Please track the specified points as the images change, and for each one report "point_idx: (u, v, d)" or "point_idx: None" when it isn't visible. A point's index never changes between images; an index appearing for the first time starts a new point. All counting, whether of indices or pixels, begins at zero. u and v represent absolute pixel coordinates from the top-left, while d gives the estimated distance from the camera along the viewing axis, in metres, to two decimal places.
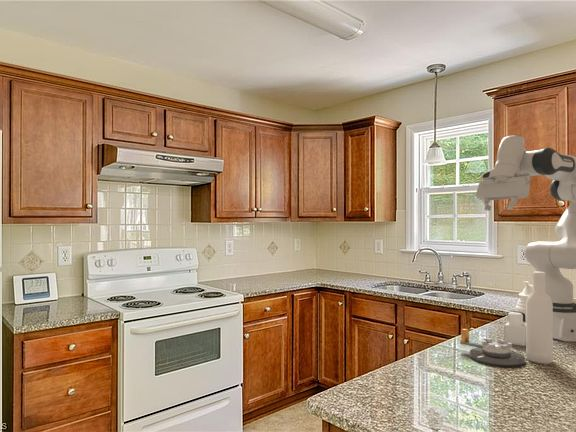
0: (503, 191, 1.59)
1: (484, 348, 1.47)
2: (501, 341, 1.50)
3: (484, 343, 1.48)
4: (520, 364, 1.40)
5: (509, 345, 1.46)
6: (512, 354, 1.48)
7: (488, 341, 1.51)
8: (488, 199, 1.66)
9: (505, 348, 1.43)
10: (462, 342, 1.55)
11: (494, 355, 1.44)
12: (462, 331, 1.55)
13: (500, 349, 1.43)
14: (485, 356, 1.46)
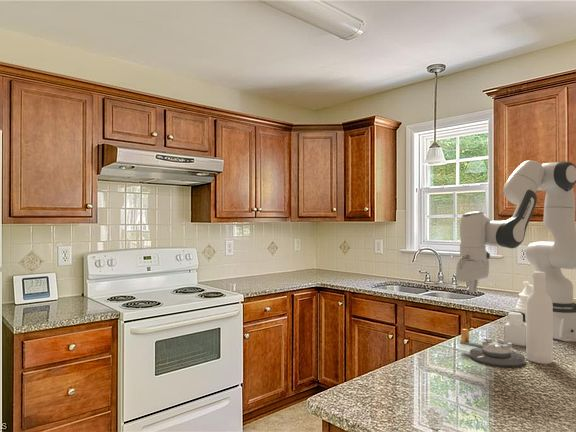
0: None
1: (484, 348, 1.47)
2: (501, 341, 1.50)
3: (484, 343, 1.48)
4: (520, 364, 1.40)
5: (509, 345, 1.46)
6: (512, 354, 1.48)
7: (488, 341, 1.51)
8: (473, 279, 1.61)
9: (505, 348, 1.43)
10: (462, 342, 1.55)
11: (494, 355, 1.44)
12: (462, 331, 1.55)
13: (500, 349, 1.43)
14: (485, 356, 1.46)
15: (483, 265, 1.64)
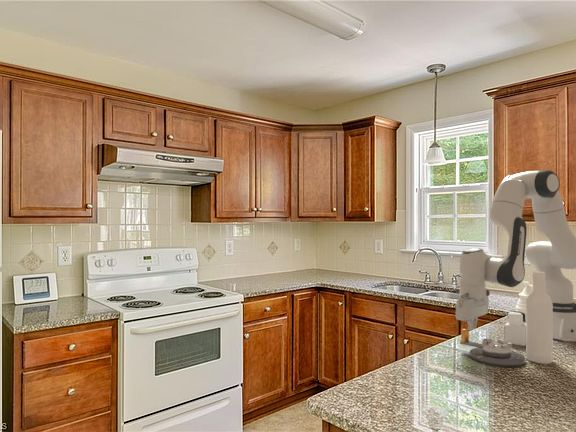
0: None
1: (484, 348, 1.47)
2: (501, 341, 1.50)
3: (484, 343, 1.48)
4: (520, 364, 1.40)
5: (509, 345, 1.46)
6: (512, 354, 1.48)
7: (488, 341, 1.51)
8: None
9: (505, 348, 1.43)
10: (462, 342, 1.55)
11: (494, 355, 1.44)
12: (462, 331, 1.55)
13: (500, 349, 1.43)
14: (485, 356, 1.46)
15: (483, 302, 1.63)
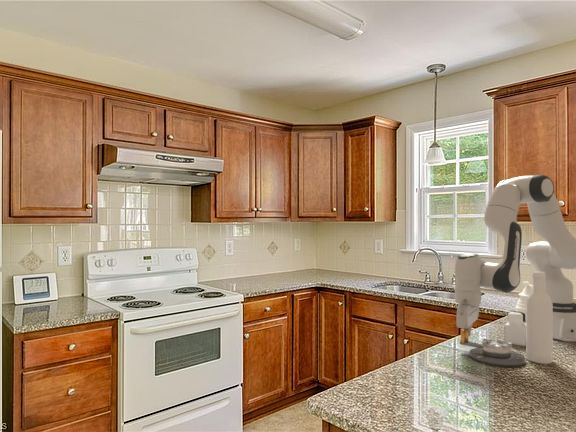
0: None
1: (484, 348, 1.47)
2: (501, 341, 1.50)
3: (484, 343, 1.48)
4: (520, 364, 1.40)
5: (509, 345, 1.46)
6: (512, 354, 1.48)
7: (488, 341, 1.51)
8: None
9: (506, 348, 1.43)
10: (462, 342, 1.55)
11: (495, 355, 1.44)
12: (462, 331, 1.55)
13: (501, 349, 1.43)
14: (485, 356, 1.46)
15: None
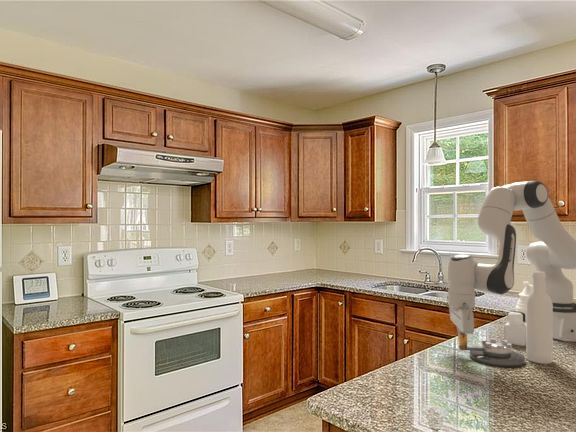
0: (457, 322, 1.50)
1: (492, 350, 1.45)
2: (494, 340, 1.51)
3: (490, 345, 1.45)
4: (520, 364, 1.40)
5: (506, 343, 1.48)
6: (512, 354, 1.48)
7: None
8: None
9: (510, 347, 1.45)
10: (462, 348, 1.48)
11: (504, 355, 1.43)
12: (462, 336, 1.48)
13: (508, 349, 1.44)
14: (485, 356, 1.46)
15: None
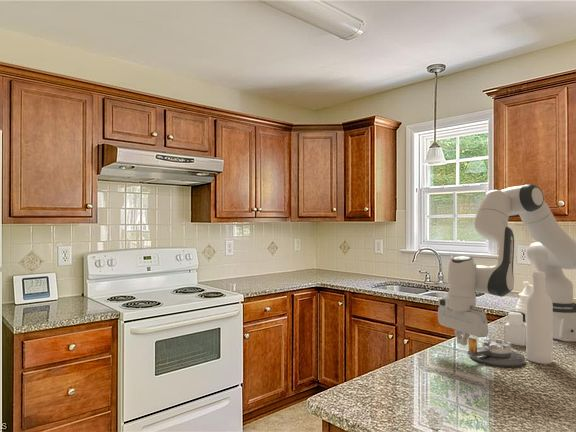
0: (462, 326, 1.46)
1: (500, 351, 1.43)
2: (489, 340, 1.51)
3: (497, 346, 1.44)
4: (520, 364, 1.40)
5: (501, 341, 1.50)
6: (512, 354, 1.48)
7: None
8: None
9: None
10: (474, 353, 1.42)
11: (509, 354, 1.44)
12: (474, 341, 1.42)
13: None
14: (485, 356, 1.46)
15: None
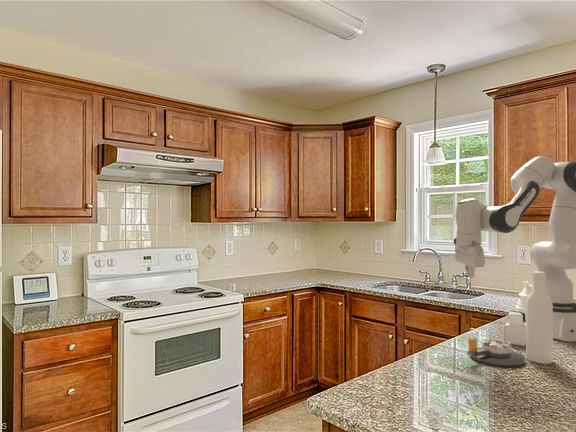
0: (466, 260, 1.64)
1: (500, 351, 1.43)
2: (489, 340, 1.51)
3: (497, 346, 1.44)
4: (520, 364, 1.40)
5: (501, 341, 1.50)
6: (512, 354, 1.48)
7: None
8: (468, 265, 1.67)
9: None
10: (474, 353, 1.42)
11: (509, 354, 1.44)
12: (474, 341, 1.42)
13: None
14: (485, 356, 1.46)
15: None
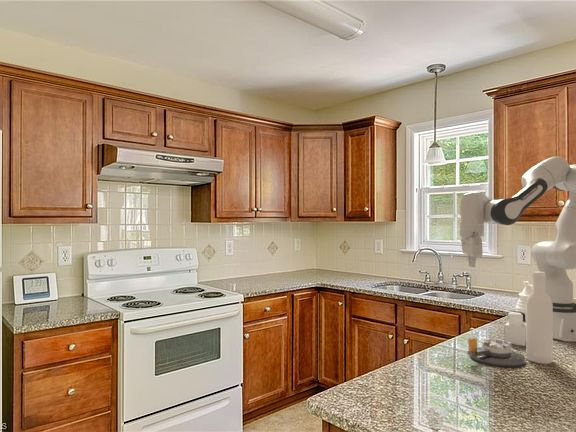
0: (468, 250, 1.71)
1: (500, 351, 1.43)
2: (489, 340, 1.51)
3: (497, 346, 1.44)
4: (520, 364, 1.40)
5: (501, 341, 1.50)
6: (512, 354, 1.48)
7: None
8: None
9: None
10: (474, 353, 1.42)
11: (509, 354, 1.44)
12: (474, 341, 1.42)
13: None
14: (485, 356, 1.46)
15: None
